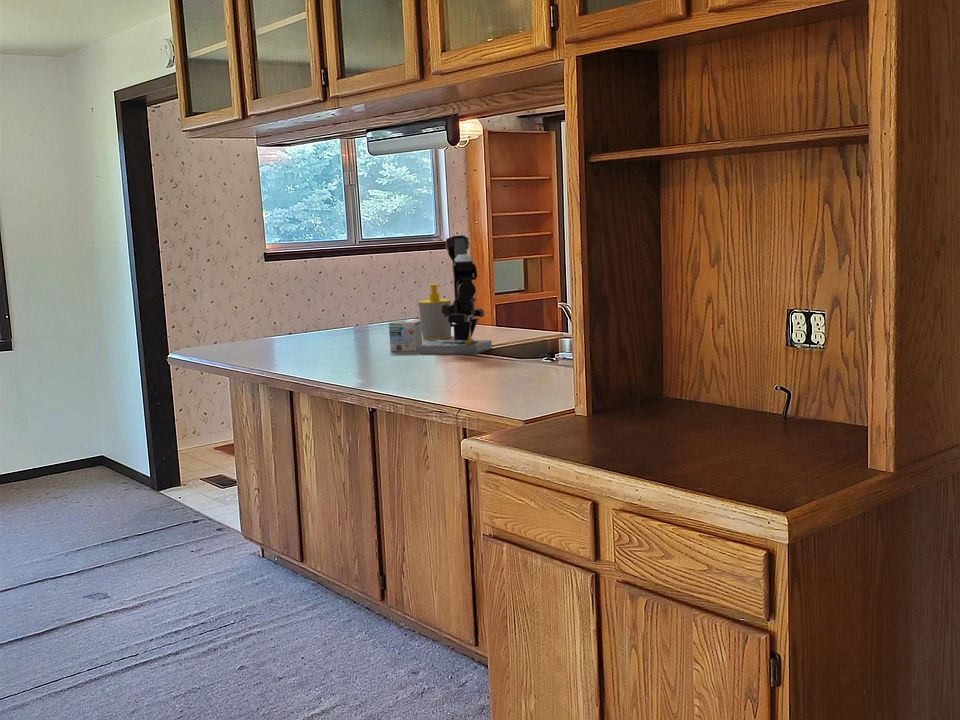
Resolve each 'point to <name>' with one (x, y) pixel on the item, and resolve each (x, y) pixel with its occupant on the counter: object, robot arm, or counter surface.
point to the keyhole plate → (455, 347)
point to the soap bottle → (434, 316)
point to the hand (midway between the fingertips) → (467, 339)
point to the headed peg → (468, 339)
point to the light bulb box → (405, 335)
